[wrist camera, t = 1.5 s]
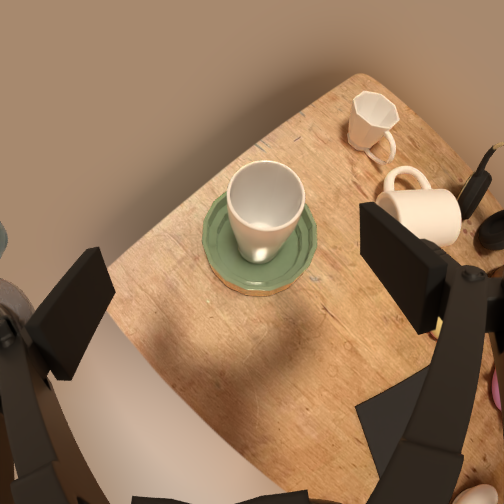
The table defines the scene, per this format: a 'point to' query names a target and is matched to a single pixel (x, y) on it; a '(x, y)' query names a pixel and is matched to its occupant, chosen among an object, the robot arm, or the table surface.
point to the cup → (372, 123)
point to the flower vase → (478, 495)
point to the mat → (389, 417)
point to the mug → (422, 208)
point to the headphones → (497, 225)
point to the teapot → (496, 390)
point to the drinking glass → (264, 208)
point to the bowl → (249, 274)
